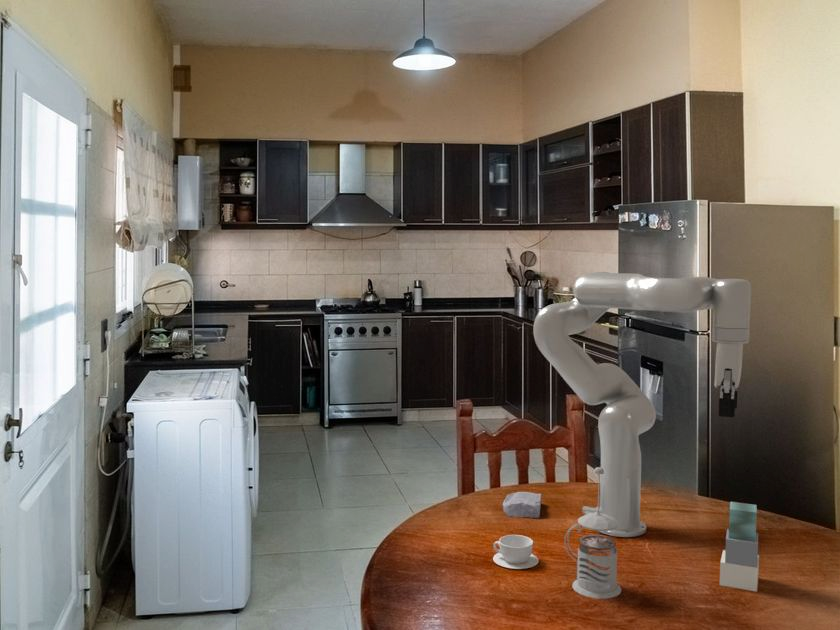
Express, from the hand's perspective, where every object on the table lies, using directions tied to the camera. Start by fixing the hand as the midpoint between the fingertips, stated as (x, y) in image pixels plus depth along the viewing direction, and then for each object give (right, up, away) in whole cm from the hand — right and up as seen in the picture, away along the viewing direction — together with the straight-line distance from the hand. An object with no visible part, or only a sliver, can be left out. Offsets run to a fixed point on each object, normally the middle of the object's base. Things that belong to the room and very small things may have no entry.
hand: (727, 412), depth 172 cm
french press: (-33, -34, -14) cm, 49 cm away
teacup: (-47, -33, -1) cm, 57 cm away
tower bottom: (-2, -34, -11) cm, 36 cm away
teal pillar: (-2, -24, -12) cm, 27 cm away
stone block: (-41, -30, +32) cm, 60 cm away
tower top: (-2, -29, -12) cm, 31 cm away
